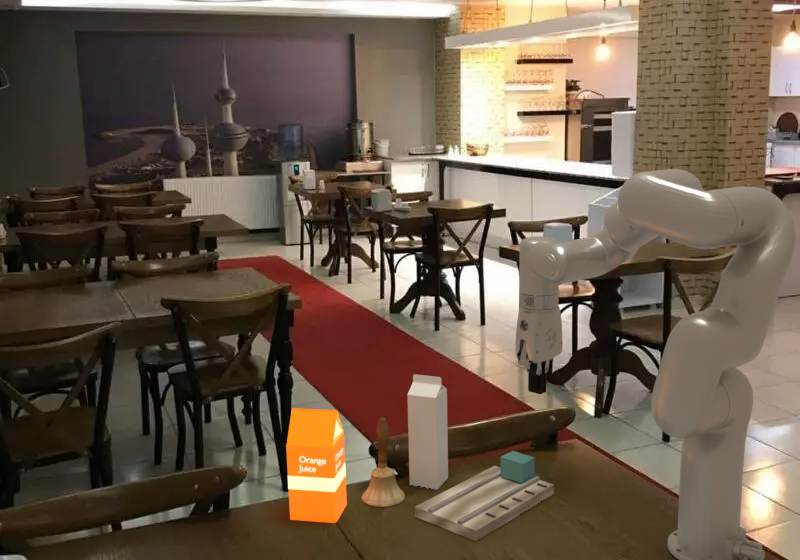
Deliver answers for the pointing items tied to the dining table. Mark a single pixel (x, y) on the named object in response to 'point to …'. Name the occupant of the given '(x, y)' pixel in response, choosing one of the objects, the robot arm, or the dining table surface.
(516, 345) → the robot arm
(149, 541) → the dining table surface
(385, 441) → the hand bell
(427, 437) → the milk
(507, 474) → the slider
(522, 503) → the count board
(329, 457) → the orange juice
